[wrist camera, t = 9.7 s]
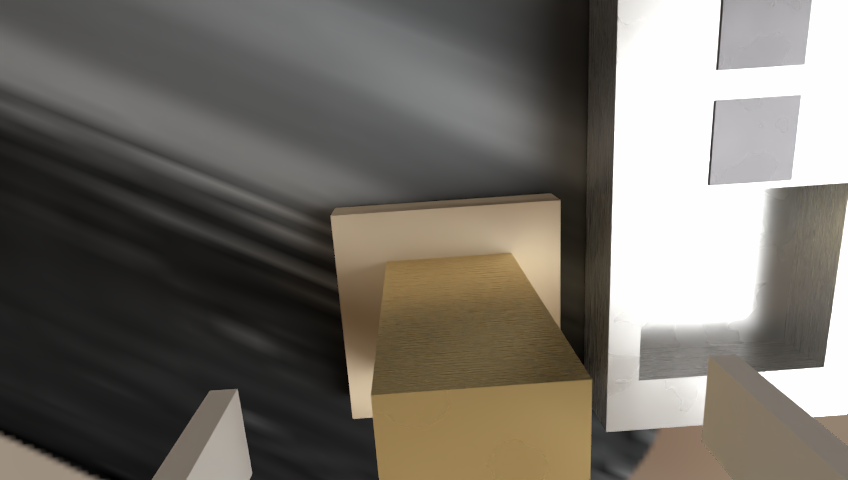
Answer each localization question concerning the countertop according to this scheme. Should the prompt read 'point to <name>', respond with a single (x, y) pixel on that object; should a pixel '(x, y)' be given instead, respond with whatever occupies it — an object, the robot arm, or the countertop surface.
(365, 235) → the coaster
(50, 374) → the countertop surface
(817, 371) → the white recessed slab
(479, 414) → the block
